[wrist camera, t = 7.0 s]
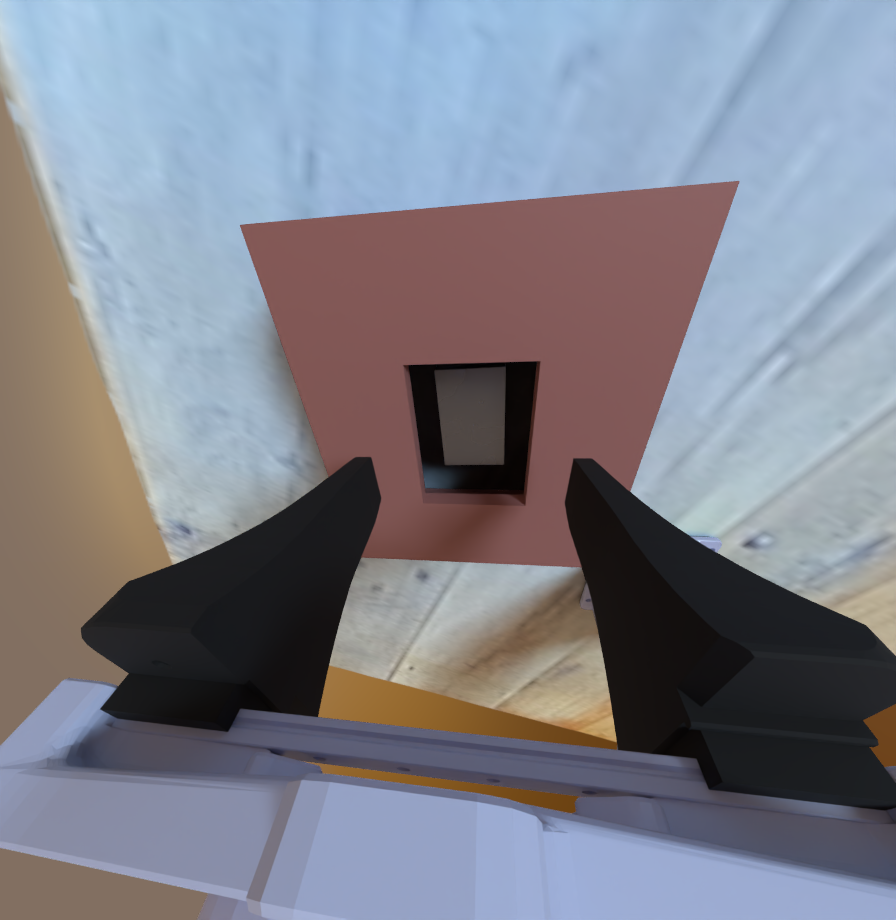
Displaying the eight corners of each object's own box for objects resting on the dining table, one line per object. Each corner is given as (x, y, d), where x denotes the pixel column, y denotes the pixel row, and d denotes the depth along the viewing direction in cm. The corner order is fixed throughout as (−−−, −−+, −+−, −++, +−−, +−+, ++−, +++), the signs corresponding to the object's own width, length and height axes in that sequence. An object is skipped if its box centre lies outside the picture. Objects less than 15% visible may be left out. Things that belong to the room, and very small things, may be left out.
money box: (579, 499, 22) (603, 568, 17) (382, 495, 23) (357, 557, 19) (650, 199, 13) (739, 181, 8) (317, 227, 14) (239, 225, 10)
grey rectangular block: (501, 425, 19) (503, 464, 16) (451, 426, 20) (445, 465, 16) (502, 340, 16) (505, 366, 13) (444, 344, 17) (434, 370, 13)
